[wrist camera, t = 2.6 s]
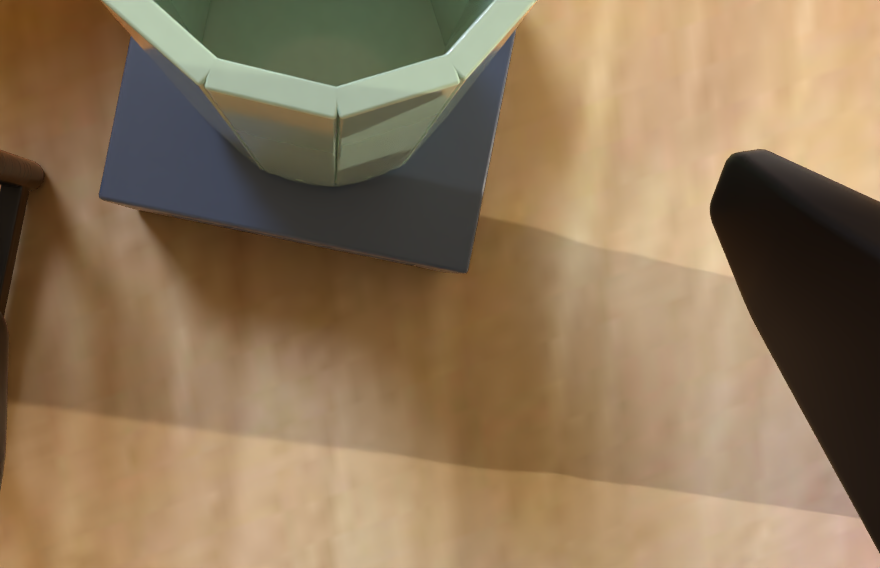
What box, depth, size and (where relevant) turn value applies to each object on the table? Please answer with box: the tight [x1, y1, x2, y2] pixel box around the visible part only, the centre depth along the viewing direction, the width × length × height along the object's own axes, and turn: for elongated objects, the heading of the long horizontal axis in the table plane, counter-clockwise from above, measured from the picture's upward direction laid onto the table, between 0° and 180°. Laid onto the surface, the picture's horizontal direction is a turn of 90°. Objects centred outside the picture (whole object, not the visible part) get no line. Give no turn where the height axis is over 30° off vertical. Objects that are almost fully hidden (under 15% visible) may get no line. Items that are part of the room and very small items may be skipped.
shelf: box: [99, 28, 517, 274], centre depth 17 cm, size 9×9×5 cm
